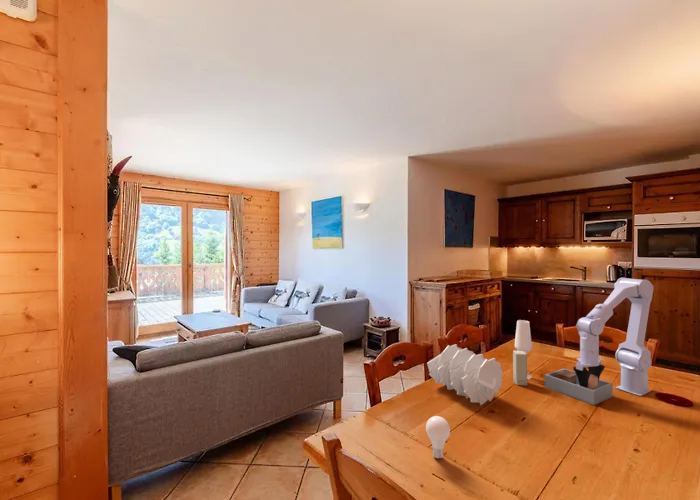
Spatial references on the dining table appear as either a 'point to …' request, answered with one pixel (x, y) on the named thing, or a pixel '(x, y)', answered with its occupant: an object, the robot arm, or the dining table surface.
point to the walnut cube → (566, 376)
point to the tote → (579, 388)
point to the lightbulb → (437, 434)
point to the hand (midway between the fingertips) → (588, 385)
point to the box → (520, 367)
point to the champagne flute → (523, 338)
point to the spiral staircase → (467, 373)
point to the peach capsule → (593, 382)
